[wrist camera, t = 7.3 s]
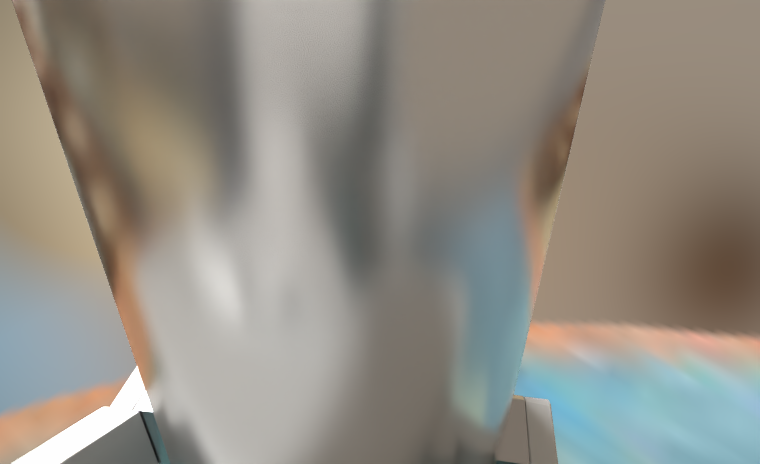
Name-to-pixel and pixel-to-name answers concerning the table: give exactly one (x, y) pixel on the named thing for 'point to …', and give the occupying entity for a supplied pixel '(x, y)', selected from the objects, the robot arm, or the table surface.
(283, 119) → the silver thermos
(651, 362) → the table surface
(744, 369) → the table surface
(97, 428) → the robot arm
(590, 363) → the table surface
